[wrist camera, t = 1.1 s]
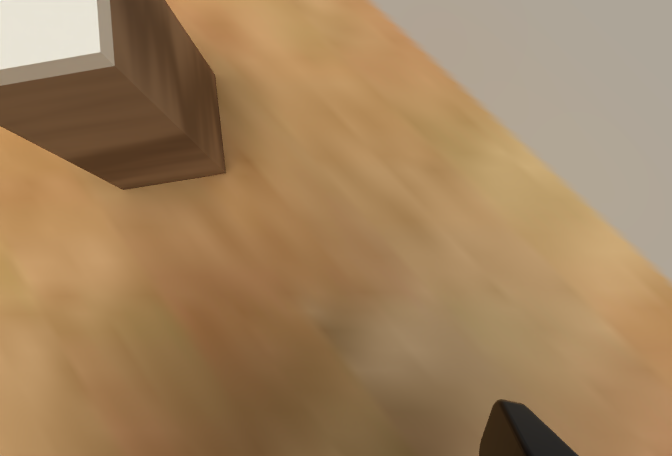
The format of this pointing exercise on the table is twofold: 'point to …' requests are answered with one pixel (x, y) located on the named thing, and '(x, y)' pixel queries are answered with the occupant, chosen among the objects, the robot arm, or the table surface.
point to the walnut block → (110, 89)
